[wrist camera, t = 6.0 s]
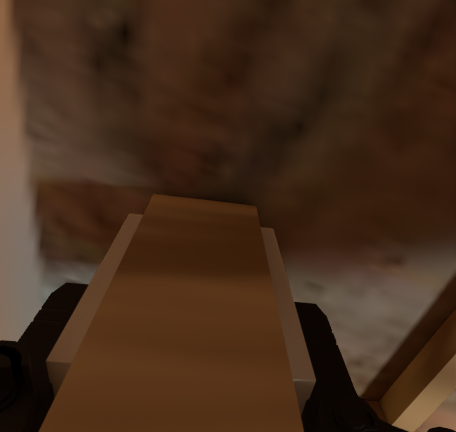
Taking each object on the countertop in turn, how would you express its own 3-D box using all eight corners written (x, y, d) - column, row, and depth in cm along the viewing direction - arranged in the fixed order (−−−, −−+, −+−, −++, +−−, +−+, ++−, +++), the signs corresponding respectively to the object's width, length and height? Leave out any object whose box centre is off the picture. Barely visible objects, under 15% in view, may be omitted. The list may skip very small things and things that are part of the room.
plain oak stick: (498, 246, 15) (531, 270, 14) (525, 255, 16) (561, 278, 14) (370, 403, 20) (384, 433, 19) (393, 407, 21) (408, 437, 19)
